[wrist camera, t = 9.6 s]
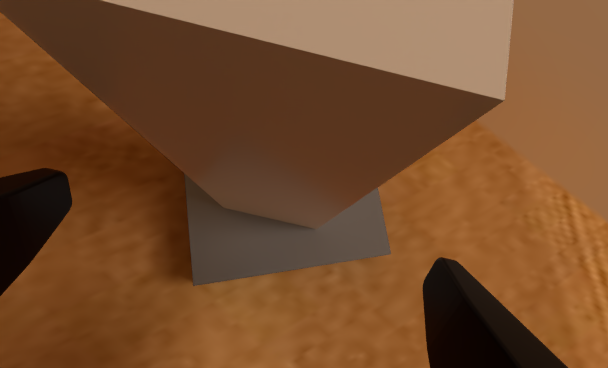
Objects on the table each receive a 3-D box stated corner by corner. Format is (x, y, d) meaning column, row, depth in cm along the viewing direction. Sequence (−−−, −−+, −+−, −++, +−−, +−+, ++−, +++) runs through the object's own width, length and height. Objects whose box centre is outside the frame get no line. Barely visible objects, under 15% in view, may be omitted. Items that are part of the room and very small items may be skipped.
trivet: (203, 282, 16) (193, 285, 14) (188, 114, 18) (178, 96, 16) (378, 254, 17) (390, 254, 15) (347, 97, 19) (355, 79, 17)
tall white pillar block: (316, 229, 15) (505, 99, 3) (223, 207, 15) (-58, -39, 2) (335, 142, 16) (538, -262, 4) (247, 121, 16) (137, -373, 3)
